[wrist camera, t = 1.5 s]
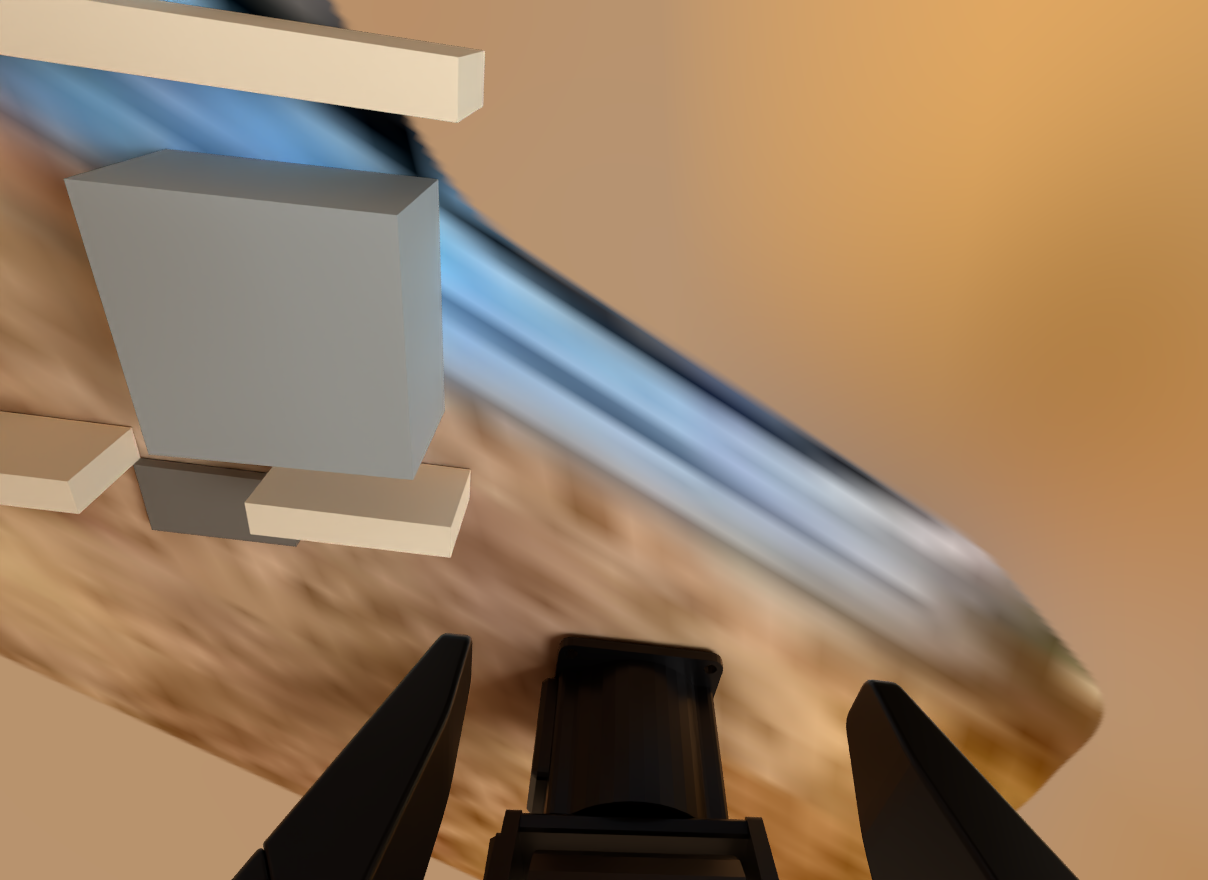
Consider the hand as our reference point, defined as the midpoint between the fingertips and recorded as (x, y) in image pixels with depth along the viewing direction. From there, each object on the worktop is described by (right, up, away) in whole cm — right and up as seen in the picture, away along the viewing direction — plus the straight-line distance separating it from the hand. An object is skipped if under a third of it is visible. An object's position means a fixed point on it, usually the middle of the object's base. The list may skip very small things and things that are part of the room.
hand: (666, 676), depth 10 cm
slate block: (-9, +8, +10) cm, 16 cm away
